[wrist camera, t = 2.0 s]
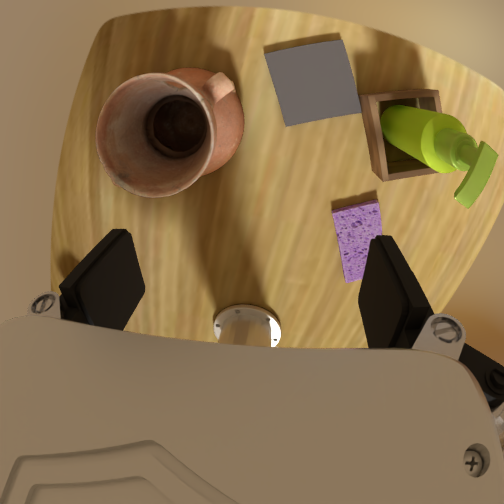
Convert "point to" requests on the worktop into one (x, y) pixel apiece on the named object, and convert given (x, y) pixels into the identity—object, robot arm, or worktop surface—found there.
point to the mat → (313, 82)
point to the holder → (375, 138)
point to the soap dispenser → (440, 146)
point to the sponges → (356, 235)
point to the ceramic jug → (168, 130)
